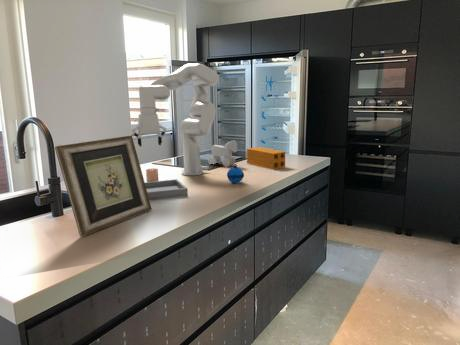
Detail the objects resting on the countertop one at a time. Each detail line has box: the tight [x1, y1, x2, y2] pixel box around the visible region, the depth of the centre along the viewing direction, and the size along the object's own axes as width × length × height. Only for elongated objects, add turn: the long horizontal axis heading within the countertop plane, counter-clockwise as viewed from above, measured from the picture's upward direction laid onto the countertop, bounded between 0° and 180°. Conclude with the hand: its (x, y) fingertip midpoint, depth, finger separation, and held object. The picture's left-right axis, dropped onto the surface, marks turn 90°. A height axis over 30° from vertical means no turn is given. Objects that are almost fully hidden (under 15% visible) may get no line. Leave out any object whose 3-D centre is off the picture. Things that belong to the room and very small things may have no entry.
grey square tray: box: [144, 178, 189, 201], centre depth 175 cm, size 20×20×4 cm
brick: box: [246, 146, 286, 171], centre depth 236 cm, size 26×10×10 cm, turn 35°
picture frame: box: [54, 135, 153, 237], centre depth 135 cm, size 33×10×30 cm, turn 148°
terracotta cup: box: [145, 167, 160, 182], centre depth 191 cm, size 6×6×8 cm
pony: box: [207, 139, 239, 168], centre depth 237 cm, size 20×10×17 cm, turn 58°
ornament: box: [226, 163, 245, 184], centre depth 191 cm, size 9×9×10 cm
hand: (150, 145), depth 187 cm, fingers open, 9 cm apart
